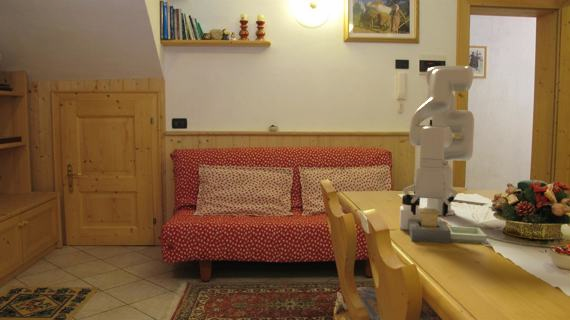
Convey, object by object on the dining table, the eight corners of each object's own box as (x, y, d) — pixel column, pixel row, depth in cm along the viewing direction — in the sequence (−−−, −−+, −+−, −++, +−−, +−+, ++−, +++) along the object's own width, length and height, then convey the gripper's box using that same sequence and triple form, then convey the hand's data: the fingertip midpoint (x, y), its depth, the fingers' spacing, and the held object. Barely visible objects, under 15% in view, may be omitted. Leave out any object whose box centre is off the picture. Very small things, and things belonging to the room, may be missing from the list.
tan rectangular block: (418, 233, 162) (420, 208, 161) (435, 234, 162) (436, 208, 161) (420, 238, 157) (421, 211, 156) (437, 239, 156) (438, 212, 155)
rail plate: (407, 230, 167) (408, 219, 167) (443, 232, 165) (443, 220, 165) (411, 240, 153) (412, 228, 153) (450, 243, 151) (450, 230, 151)
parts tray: (445, 232, 165) (445, 225, 164) (478, 234, 163) (478, 227, 162) (450, 241, 154) (450, 233, 154) (486, 243, 152) (486, 235, 152)
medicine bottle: (420, 230, 167) (422, 197, 165) (400, 229, 168) (401, 196, 167) (419, 226, 174) (420, 193, 172) (399, 224, 175) (400, 192, 174)
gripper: (456, 163, 159) (453, 214, 160) (403, 162, 162) (401, 211, 163) (460, 166, 151) (458, 218, 153) (405, 164, 154) (403, 215, 156)
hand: (428, 214), depth 158 cm, fingers open, 9 cm apart
